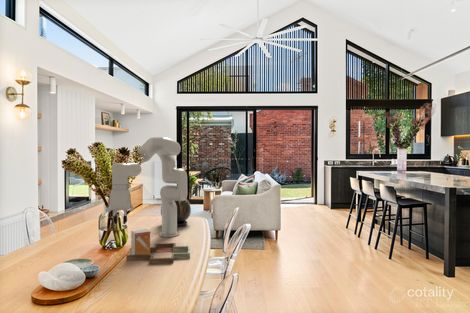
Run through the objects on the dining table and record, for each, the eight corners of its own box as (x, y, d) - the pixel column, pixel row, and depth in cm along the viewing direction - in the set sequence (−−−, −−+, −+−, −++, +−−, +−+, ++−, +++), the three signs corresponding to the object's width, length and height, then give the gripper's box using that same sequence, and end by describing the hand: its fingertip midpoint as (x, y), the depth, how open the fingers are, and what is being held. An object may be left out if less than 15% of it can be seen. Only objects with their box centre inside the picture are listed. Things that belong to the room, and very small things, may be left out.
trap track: (132, 249, 184) (132, 244, 184) (189, 247, 188) (189, 242, 188) (123, 265, 158) (123, 260, 158) (190, 262, 162) (190, 257, 162)
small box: (134, 259, 167) (134, 233, 167) (131, 256, 172) (130, 230, 172) (150, 256, 171) (150, 231, 171) (146, 253, 177) (146, 228, 176)
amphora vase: (188, 228, 232) (188, 188, 232) (157, 228, 233) (157, 188, 232) (192, 221, 254) (192, 184, 253) (164, 221, 254) (164, 184, 253)
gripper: (138, 186, 174) (138, 221, 175) (104, 186, 172) (105, 222, 173) (135, 188, 167) (136, 224, 167) (101, 188, 165) (101, 225, 165)
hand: (120, 223), depth 170 cm, fingers open, 3 cm apart
